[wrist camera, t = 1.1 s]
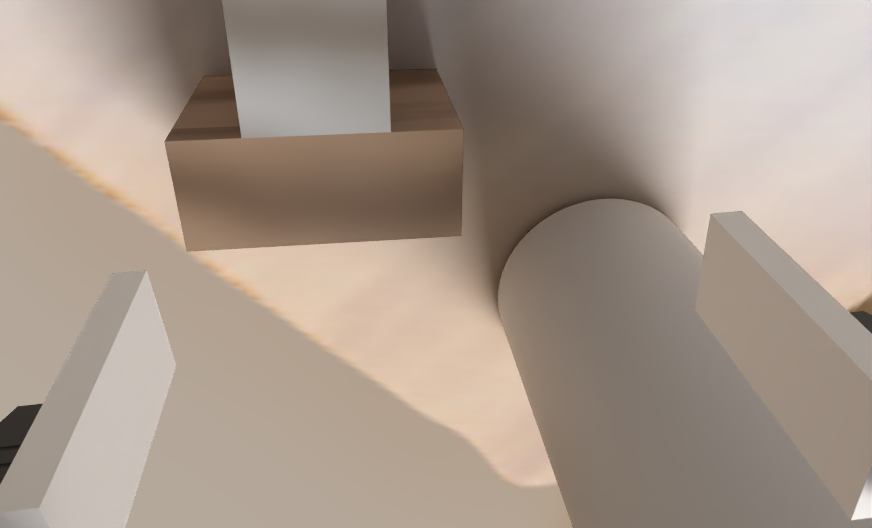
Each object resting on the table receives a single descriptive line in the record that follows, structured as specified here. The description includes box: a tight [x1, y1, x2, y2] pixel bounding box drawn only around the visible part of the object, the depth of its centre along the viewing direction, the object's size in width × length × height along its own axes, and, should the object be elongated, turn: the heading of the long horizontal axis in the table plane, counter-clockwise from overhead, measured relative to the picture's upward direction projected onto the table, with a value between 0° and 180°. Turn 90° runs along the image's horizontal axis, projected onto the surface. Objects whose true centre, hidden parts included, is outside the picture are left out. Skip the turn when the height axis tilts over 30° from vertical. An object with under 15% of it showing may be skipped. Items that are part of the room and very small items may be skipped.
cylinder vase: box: [498, 198, 872, 528], centre depth 35 cm, size 12×12×25 cm
